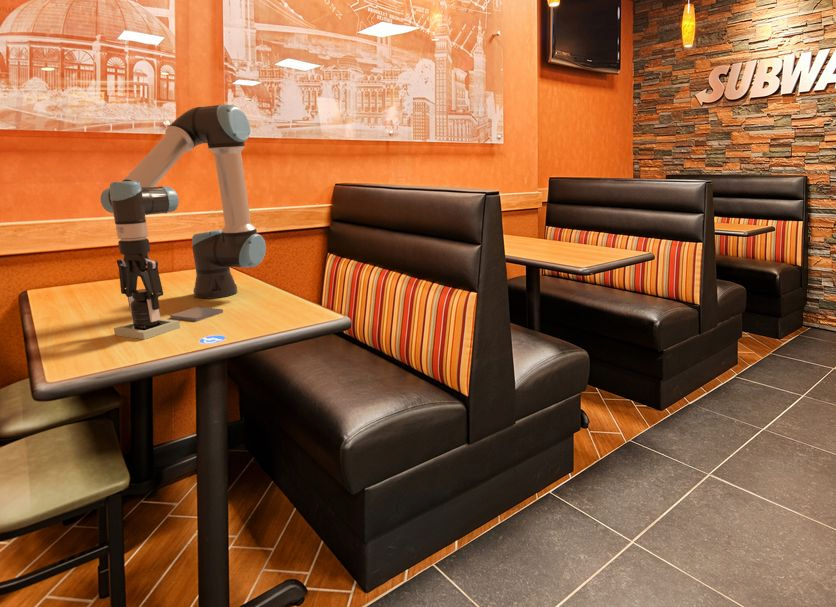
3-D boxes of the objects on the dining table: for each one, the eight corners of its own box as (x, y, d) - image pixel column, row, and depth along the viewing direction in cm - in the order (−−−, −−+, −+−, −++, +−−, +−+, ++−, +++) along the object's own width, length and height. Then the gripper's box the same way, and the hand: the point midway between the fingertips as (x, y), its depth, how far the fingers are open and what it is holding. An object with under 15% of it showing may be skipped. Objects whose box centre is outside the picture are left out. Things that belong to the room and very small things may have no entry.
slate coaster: (170, 318, 168) (169, 315, 168) (197, 309, 178) (197, 306, 178) (196, 321, 164) (195, 318, 164) (223, 312, 174) (222, 309, 173)
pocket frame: (114, 335, 153) (113, 328, 152) (151, 323, 163) (150, 317, 163) (144, 339, 148) (143, 332, 147) (180, 327, 158) (179, 320, 158)
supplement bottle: (140, 328, 158) (134, 288, 155) (164, 327, 159) (158, 287, 156) (130, 335, 152) (123, 293, 149) (155, 334, 152) (149, 292, 149)
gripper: (96, 239, 150) (110, 319, 155) (146, 241, 141) (159, 326, 147) (121, 236, 156) (134, 313, 162) (170, 238, 148) (181, 319, 154)
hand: (146, 319), depth 154 cm, fingers closed on supplement bottle, 7 cm apart
